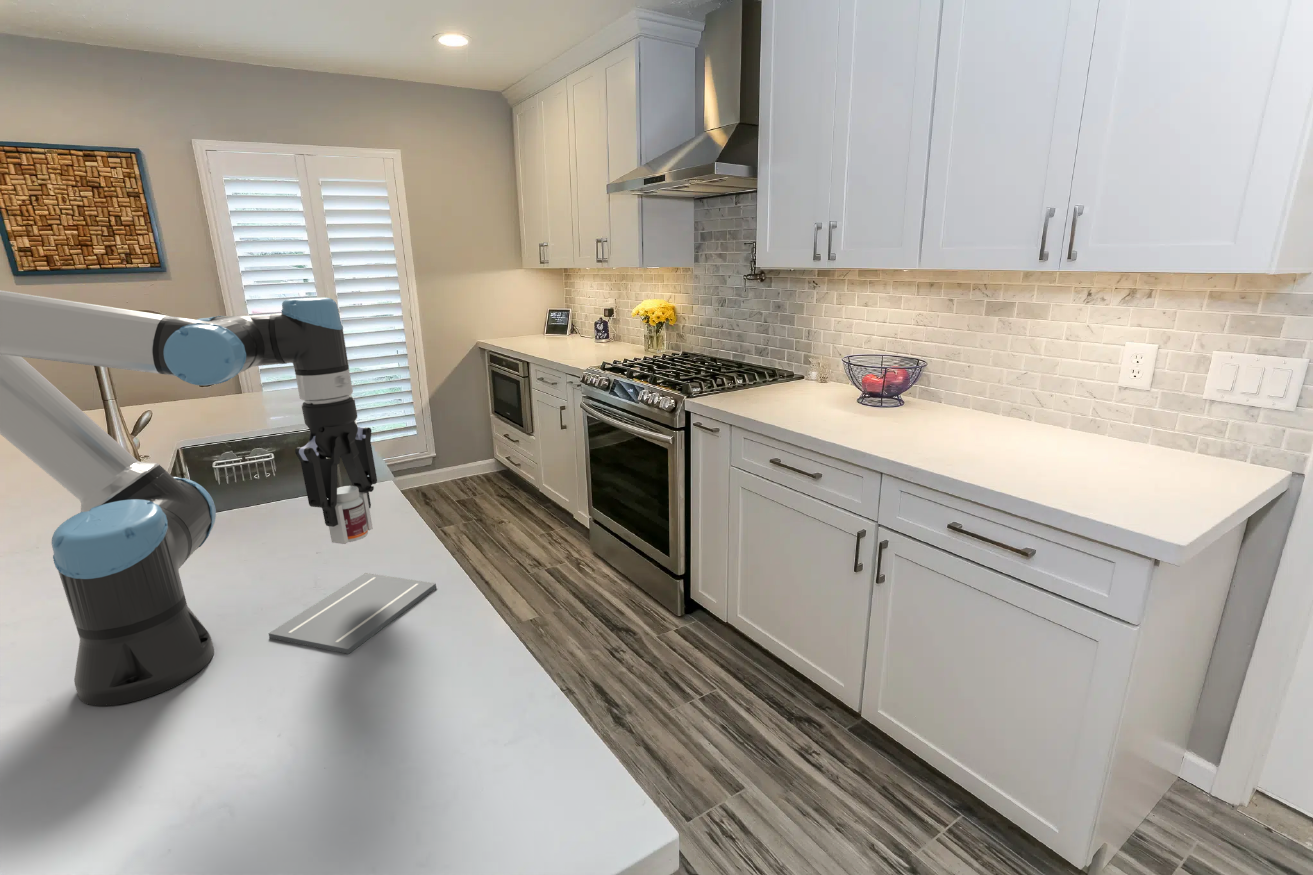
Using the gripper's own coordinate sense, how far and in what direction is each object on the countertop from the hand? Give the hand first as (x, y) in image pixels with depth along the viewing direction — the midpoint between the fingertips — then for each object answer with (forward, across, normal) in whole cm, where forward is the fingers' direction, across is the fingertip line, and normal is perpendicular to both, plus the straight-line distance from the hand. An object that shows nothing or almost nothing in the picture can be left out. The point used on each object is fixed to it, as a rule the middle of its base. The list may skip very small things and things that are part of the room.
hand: (352, 535), depth 106 cm
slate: (+11, -5, -4) cm, 12 cm away
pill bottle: (+1, 0, 0) cm, 1 cm away
